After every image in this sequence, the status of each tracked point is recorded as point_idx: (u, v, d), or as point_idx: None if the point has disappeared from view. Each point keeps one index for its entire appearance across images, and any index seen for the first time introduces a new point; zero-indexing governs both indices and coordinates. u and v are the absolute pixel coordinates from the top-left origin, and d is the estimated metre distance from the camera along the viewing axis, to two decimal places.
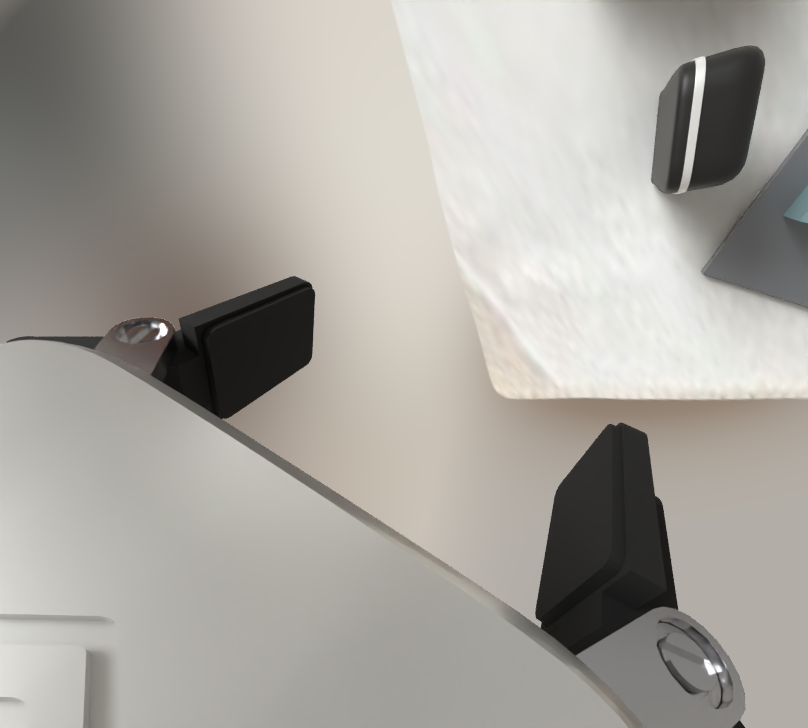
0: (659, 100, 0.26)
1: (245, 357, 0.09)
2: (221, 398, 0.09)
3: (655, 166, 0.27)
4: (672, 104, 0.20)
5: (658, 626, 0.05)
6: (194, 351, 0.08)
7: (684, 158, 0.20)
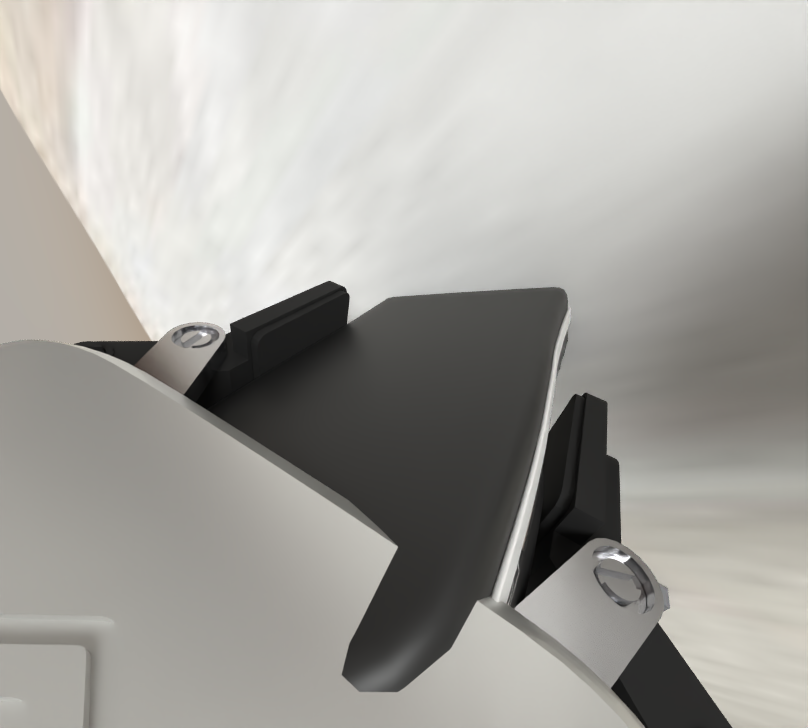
0: (542, 291, 0.10)
1: None
2: None
3: (381, 319, 0.11)
4: None
5: (598, 555, 0.06)
6: (243, 355, 0.08)
7: None
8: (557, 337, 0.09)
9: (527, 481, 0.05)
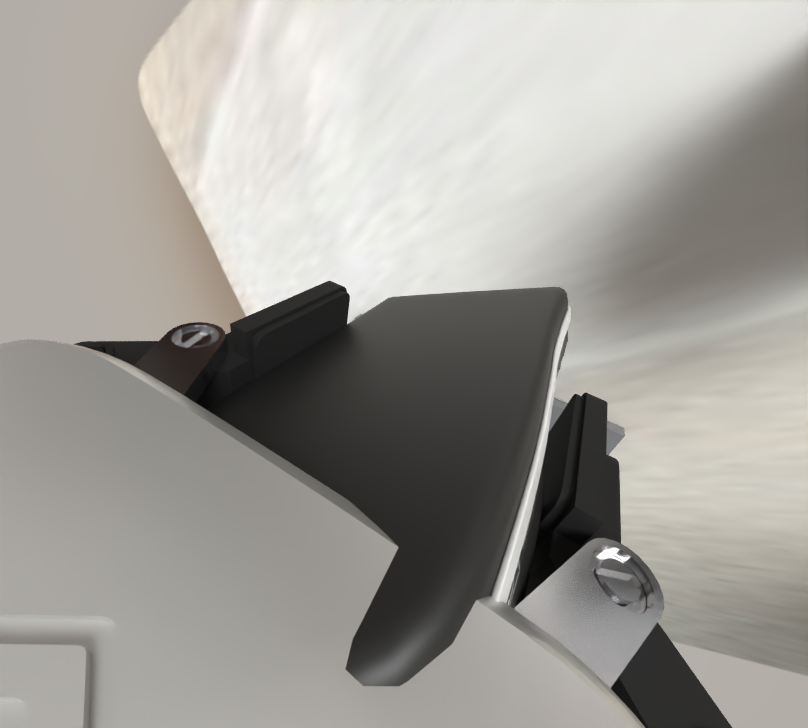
0: (542, 291, 0.10)
1: None
2: None
3: (381, 319, 0.11)
4: None
5: (598, 554, 0.06)
6: (243, 355, 0.08)
7: None
8: (557, 337, 0.09)
9: (528, 479, 0.05)
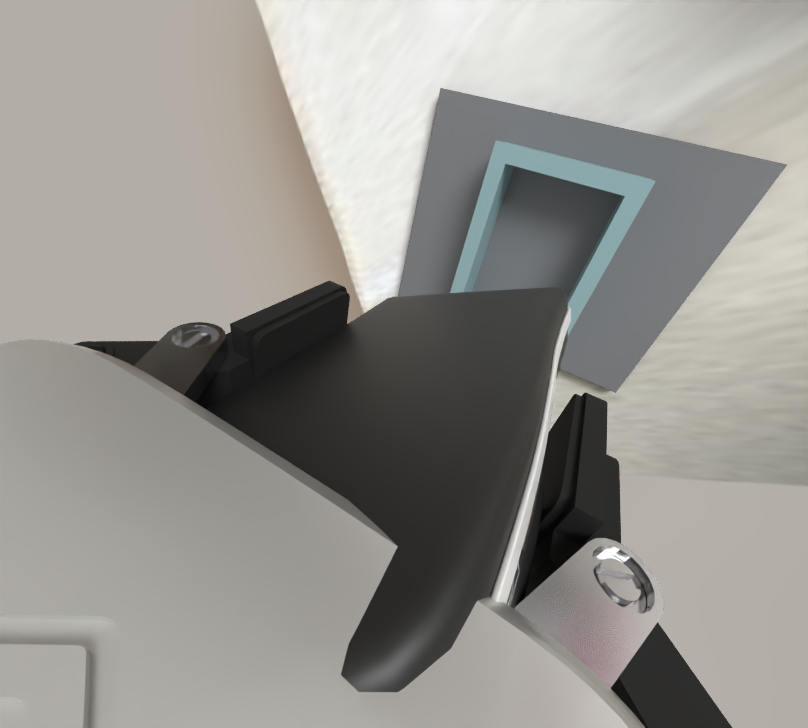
0: (542, 291, 0.10)
1: None
2: None
3: (381, 319, 0.11)
4: None
5: (598, 554, 0.06)
6: (243, 355, 0.08)
7: None
8: (557, 337, 0.09)
9: (527, 481, 0.05)
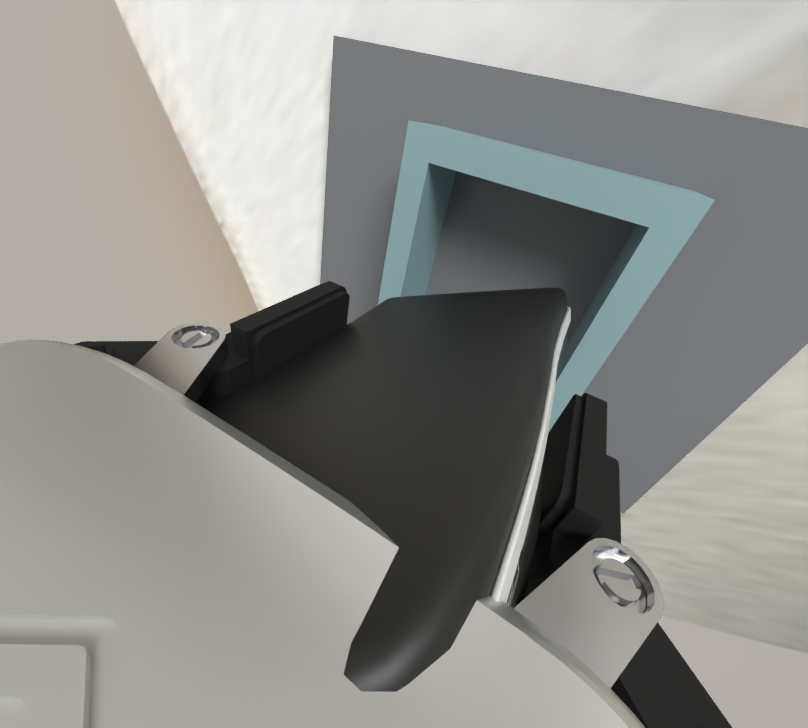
0: (542, 291, 0.10)
1: None
2: None
3: (381, 319, 0.11)
4: None
5: (597, 554, 0.06)
6: (243, 355, 0.08)
7: None
8: (557, 337, 0.09)
9: (527, 481, 0.05)
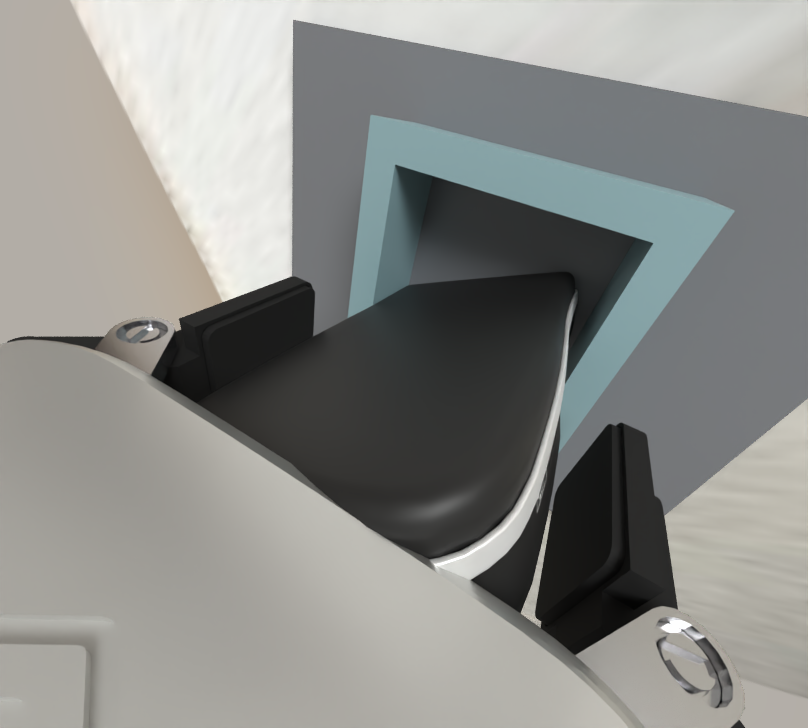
0: (552, 274, 0.11)
1: (245, 357, 0.09)
2: None
3: (405, 300, 0.12)
4: (405, 408, 0.05)
5: (658, 625, 0.05)
6: (194, 351, 0.08)
7: None
8: (567, 311, 0.10)
9: (553, 402, 0.06)
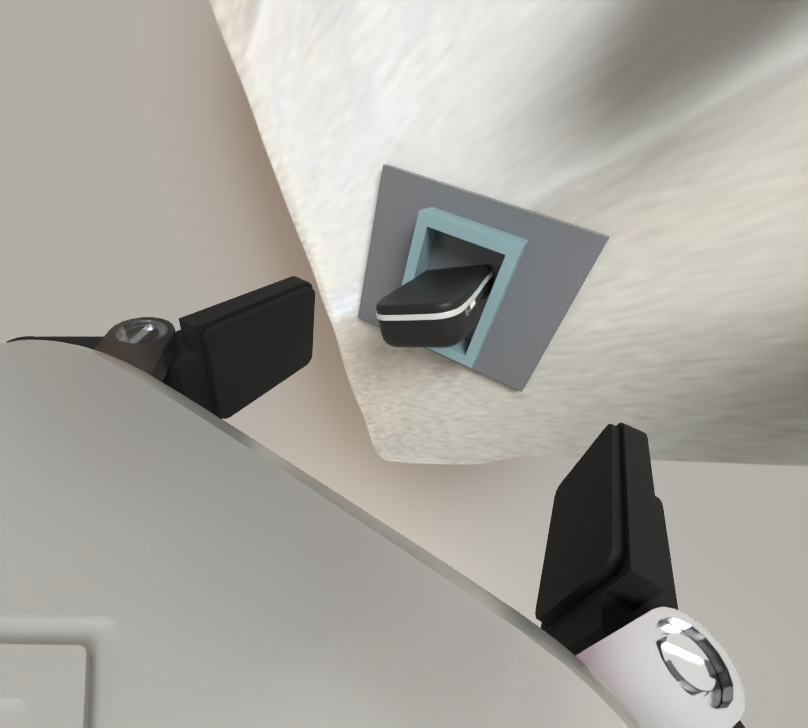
0: (482, 265, 0.31)
1: (245, 357, 0.09)
2: (221, 398, 0.09)
3: (428, 275, 0.31)
4: (438, 295, 0.24)
5: (658, 626, 0.05)
6: (194, 351, 0.08)
7: (391, 314, 0.24)
8: (485, 278, 0.29)
9: (471, 295, 0.25)
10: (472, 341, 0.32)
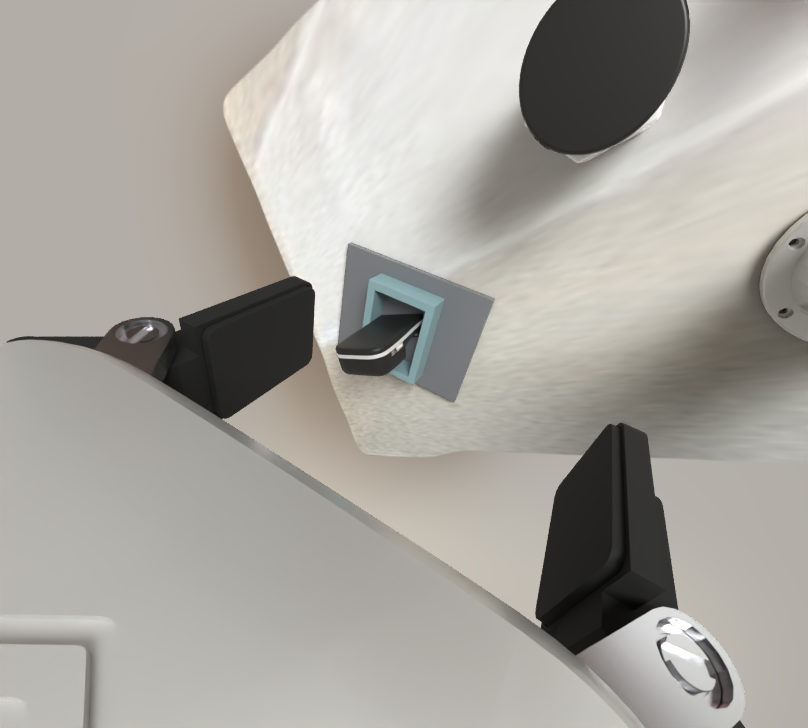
0: (416, 314, 0.43)
1: (245, 357, 0.09)
2: (221, 398, 0.09)
3: (378, 321, 0.44)
4: (374, 342, 0.38)
5: (658, 626, 0.05)
6: (194, 351, 0.08)
7: (344, 354, 0.38)
8: (415, 325, 0.42)
9: (396, 341, 0.38)
10: (411, 367, 0.45)
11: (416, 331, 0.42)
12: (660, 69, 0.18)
